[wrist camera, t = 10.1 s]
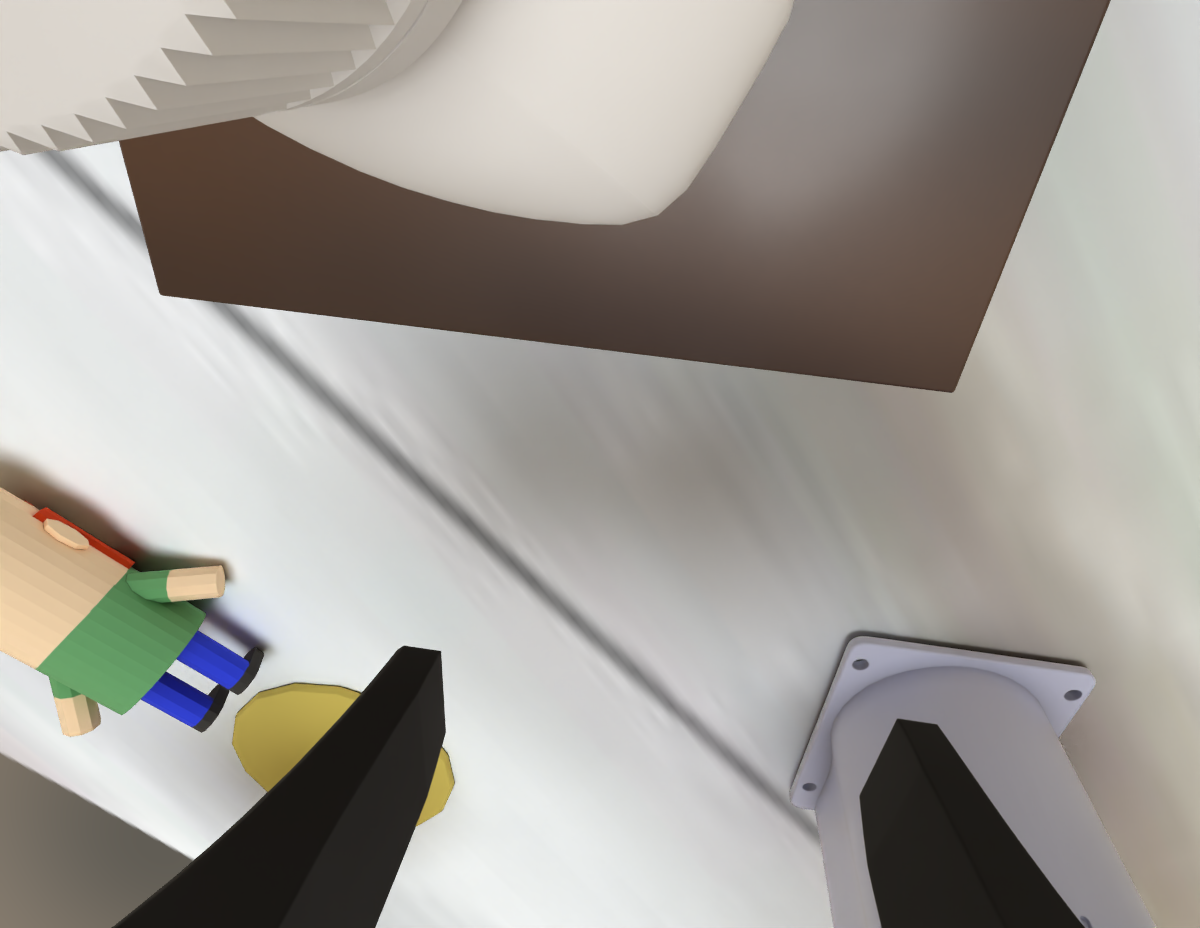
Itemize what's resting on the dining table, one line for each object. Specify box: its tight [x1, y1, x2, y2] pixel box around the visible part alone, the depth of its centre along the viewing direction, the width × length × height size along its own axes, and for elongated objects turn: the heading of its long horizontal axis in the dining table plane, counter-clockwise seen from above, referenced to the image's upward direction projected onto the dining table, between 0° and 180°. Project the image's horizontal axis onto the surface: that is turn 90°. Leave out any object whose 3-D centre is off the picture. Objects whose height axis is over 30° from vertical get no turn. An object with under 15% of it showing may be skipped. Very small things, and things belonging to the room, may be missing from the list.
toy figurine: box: [0, 488, 264, 737], centre depth 24 cm, size 8×4×12 cm
